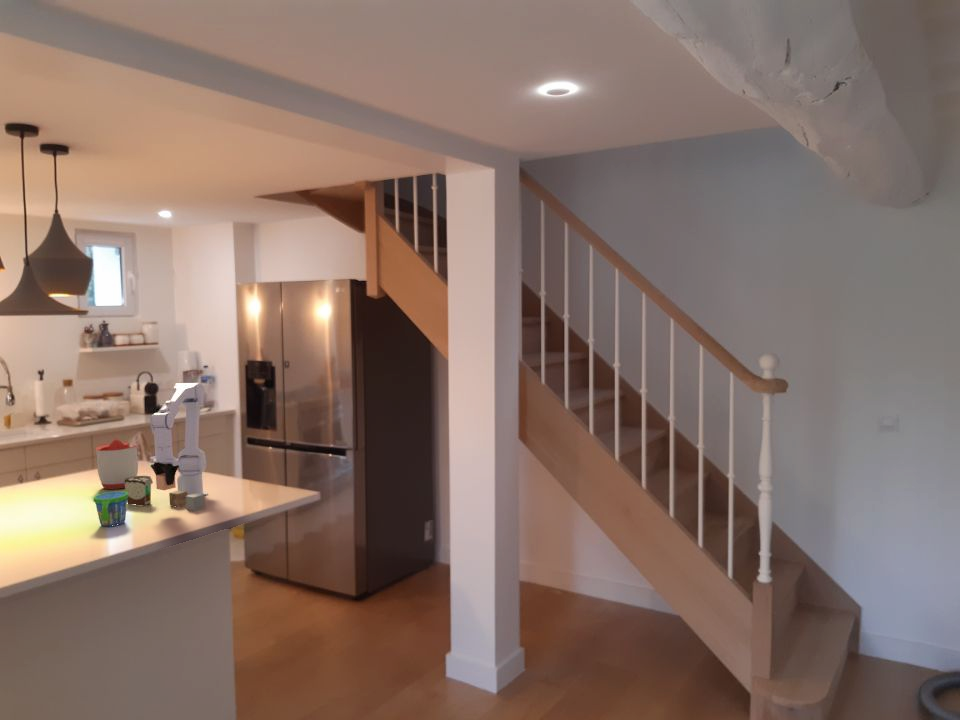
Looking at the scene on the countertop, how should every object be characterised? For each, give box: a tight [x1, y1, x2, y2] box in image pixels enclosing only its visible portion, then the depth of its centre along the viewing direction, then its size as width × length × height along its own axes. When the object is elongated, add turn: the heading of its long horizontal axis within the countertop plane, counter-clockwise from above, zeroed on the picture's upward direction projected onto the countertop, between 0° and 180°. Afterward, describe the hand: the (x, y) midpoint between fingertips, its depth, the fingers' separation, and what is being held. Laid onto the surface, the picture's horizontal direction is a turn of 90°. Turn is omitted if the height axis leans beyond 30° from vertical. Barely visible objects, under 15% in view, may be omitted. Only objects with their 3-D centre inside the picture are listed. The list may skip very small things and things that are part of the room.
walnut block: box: [168, 489, 188, 508], centre depth 272 cm, size 4×4×5 cm
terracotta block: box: [155, 473, 177, 491], centre depth 262 cm, size 4×4×5 cm
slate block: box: [185, 493, 206, 512], centre depth 266 cm, size 4×4×5 cm
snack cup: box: [92, 490, 128, 527], centre depth 250 cm, size 16×10×10 cm
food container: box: [123, 475, 154, 507], centre depth 276 cm, size 12×6×10 cm, turn 65°
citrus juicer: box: [95, 438, 141, 490], centre depth 305 cm, size 16×17×20 cm
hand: (165, 483), depth 262 cm, fingers closed on terracotta block, 4 cm apart
